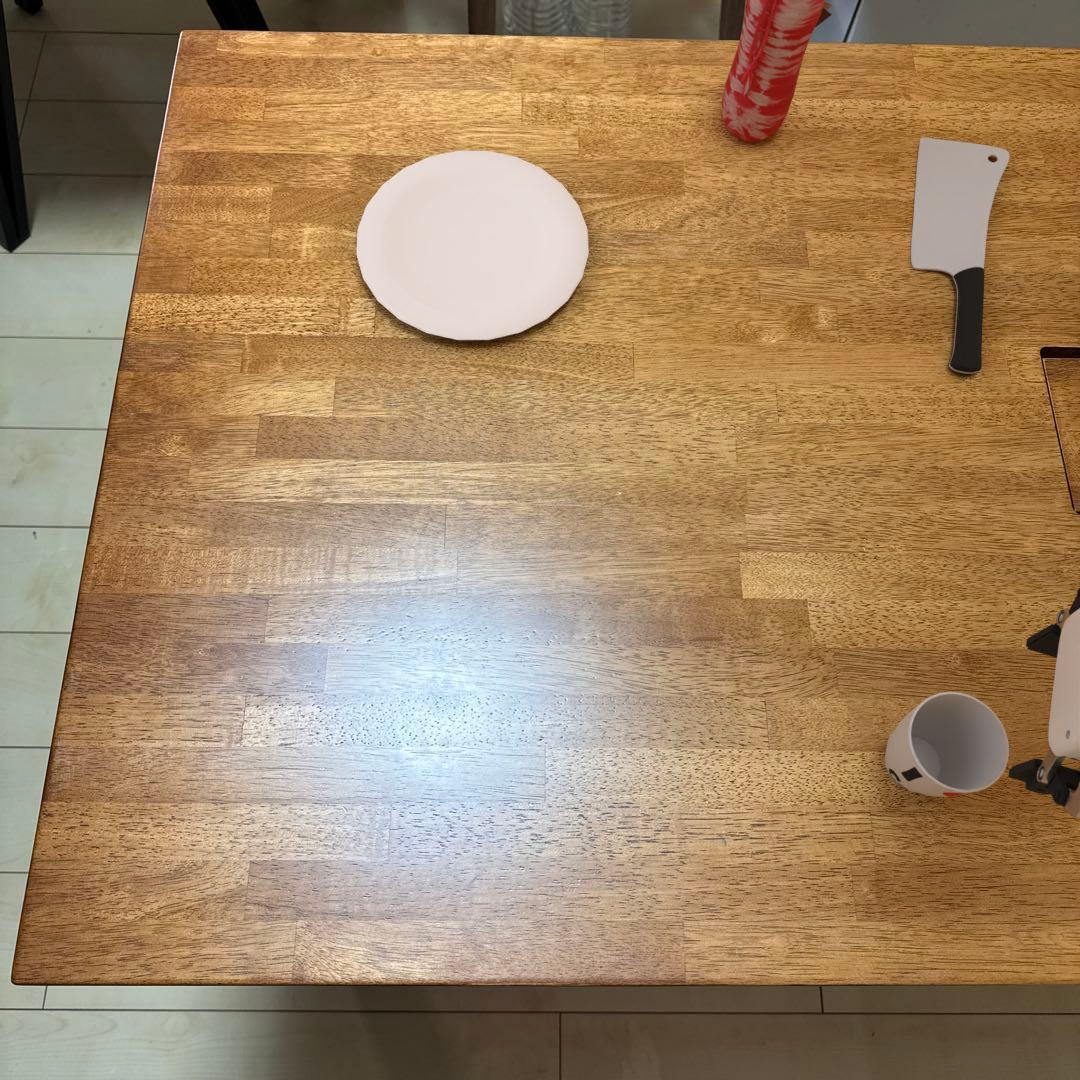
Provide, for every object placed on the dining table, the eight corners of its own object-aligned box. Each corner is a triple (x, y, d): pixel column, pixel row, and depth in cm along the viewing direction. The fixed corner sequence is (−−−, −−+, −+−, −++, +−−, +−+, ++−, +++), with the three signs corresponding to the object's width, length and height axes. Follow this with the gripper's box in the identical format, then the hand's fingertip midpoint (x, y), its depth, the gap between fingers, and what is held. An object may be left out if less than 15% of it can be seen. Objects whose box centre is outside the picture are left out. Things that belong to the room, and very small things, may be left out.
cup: (857, 787, 90) (897, 769, 81) (880, 704, 93) (921, 677, 84) (946, 822, 89) (997, 808, 80) (966, 737, 92) (1018, 713, 83)
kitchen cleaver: (921, 132, 118) (1012, 141, 116) (918, 143, 119) (1007, 152, 118) (896, 358, 106) (996, 372, 104) (892, 367, 108) (990, 381, 106)
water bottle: (758, 70, 122) (817, -137, 98) (813, 104, 120) (886, -98, 97) (697, 128, 118) (744, -73, 95) (753, 165, 116) (814, -31, 93)
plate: (369, 361, 105) (367, 352, 103) (347, 171, 114) (345, 160, 113) (607, 333, 107) (608, 324, 106) (567, 148, 116) (568, 137, 115)
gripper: (1249, 822, 53) (1078, 851, 69) (1263, 529, 59) (1103, 617, 75) (1104, 778, 53) (967, 816, 69) (1133, 492, 60) (1002, 588, 76)
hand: (1038, 713), depth 72 cm, fingers open, 9 cm apart
